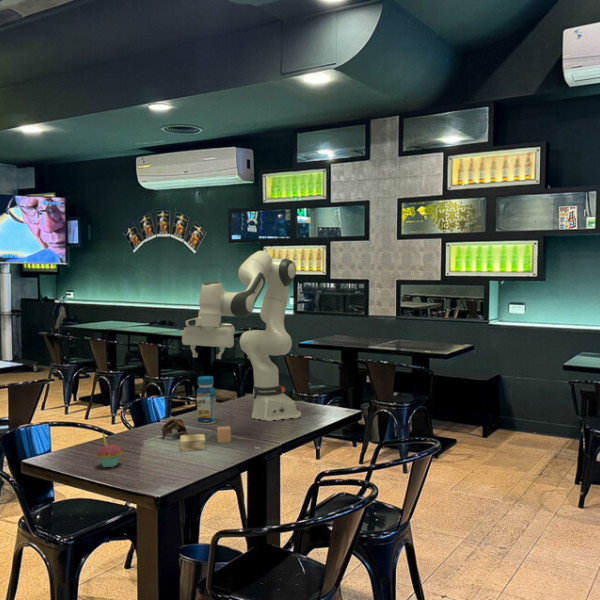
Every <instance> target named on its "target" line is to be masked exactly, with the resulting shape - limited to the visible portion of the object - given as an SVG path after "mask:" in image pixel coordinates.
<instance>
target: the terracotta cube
mask: <svg viewBox="0 0 600 600" xmlns="http://www.w3.org/2000/svg"><path fill="white" fill-rule="evenodd" d="M216 428H217V429H216V436H217V439H218V440H217V443H231V442H232V437H231V436H232V432H231V431H232V430H231V429H232V428H231V426H230V425H222V426H217V427H216Z"/></svg>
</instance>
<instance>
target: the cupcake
mask: <svg viewBox="0 0 600 600" xmlns="http://www.w3.org/2000/svg"><path fill="white" fill-rule="evenodd" d="M102 438H103V442H104V445H103V446H100V447H99V449H97V451H96V456H97V458H98V459H99V460H100V462H101V465H102V467H103V466H104V467H103V468H105V467H111V468H114V466H115V467H117V466H118V462H119V459H120V458H121V456H122V455H124V451H123V448H122V447H121V446H119V445H117V444H113V443H112V444H108V443H107V439H106V434H105V433H104V432H102ZM116 465H117V466H116Z"/></svg>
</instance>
